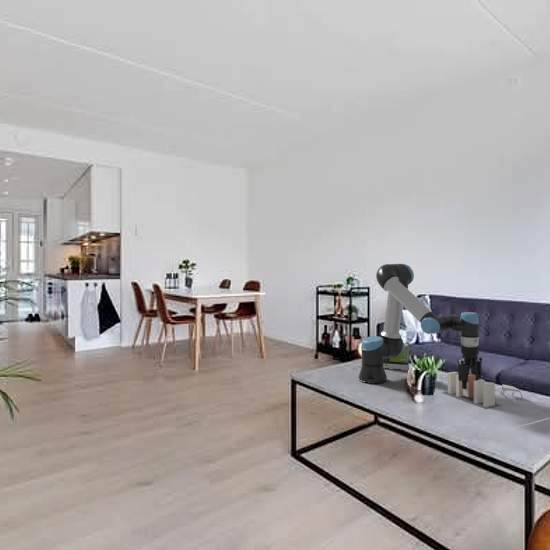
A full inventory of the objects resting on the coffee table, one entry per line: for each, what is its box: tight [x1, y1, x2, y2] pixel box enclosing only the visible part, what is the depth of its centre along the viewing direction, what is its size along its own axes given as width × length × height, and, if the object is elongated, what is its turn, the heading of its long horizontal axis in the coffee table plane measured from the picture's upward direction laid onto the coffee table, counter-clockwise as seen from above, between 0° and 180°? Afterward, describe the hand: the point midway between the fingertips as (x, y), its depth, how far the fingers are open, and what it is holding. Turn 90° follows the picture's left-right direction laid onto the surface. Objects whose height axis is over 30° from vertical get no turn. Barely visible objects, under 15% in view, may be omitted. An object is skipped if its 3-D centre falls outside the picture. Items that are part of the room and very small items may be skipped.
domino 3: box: [465, 374, 476, 398], centre depth 188 cm, size 2×5×10 cm, turn 114°
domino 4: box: [474, 378, 486, 404], centre depth 184 cm, size 2×5×10 cm, turn 114°
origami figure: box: [499, 384, 524, 401], centre depth 189 cm, size 12×8×5 cm
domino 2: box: [456, 375, 465, 397], centre depth 193 cm, size 2×5×10 cm, turn 114°
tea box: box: [383, 343, 410, 371], centre depth 246 cm, size 15×10×15 cm, turn 66°
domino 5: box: [483, 381, 496, 407], centre depth 179 cm, size 2×5×10 cm, turn 114°
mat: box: [441, 390, 502, 410], centre depth 188 cm, size 25×10×1 cm, turn 24°
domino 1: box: [447, 371, 458, 394], centre depth 197 cm, size 2×5×10 cm, turn 114°
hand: (470, 394), depth 188 cm, fingers closed on domino 3, 5 cm apart
